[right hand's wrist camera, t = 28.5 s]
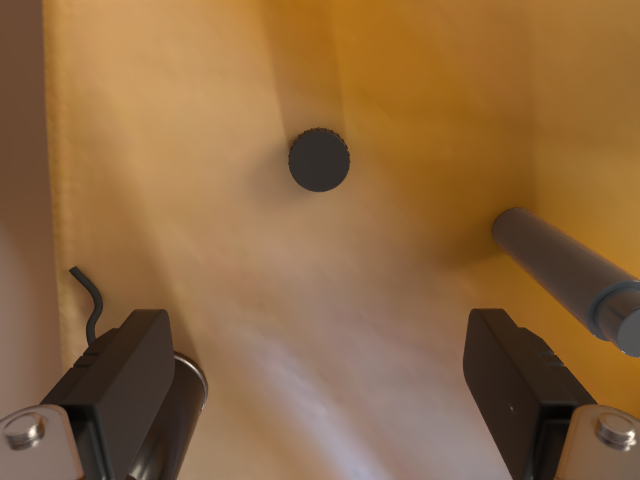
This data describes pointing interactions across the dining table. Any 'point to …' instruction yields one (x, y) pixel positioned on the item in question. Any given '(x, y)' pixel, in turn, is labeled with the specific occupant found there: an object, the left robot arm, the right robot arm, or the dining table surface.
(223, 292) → the dining table surface
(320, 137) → the lid
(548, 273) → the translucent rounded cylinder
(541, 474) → the right robot arm
